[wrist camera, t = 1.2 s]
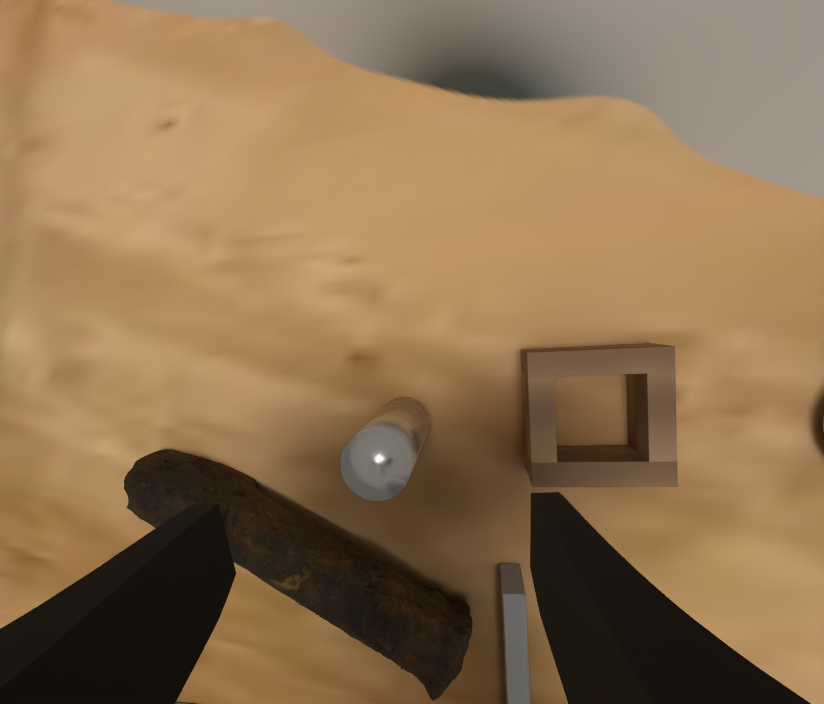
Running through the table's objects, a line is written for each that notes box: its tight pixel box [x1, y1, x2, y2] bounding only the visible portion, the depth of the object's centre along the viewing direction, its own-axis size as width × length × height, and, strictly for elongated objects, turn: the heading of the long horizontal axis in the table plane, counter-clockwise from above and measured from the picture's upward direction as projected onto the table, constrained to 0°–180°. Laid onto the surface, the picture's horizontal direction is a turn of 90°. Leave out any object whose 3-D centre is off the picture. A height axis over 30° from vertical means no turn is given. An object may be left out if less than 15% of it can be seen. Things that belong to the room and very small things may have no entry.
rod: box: [340, 397, 430, 501], centre depth 19 cm, size 3×3×7 cm
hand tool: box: [124, 450, 472, 700], centre depth 22 cm, size 19×4×5 cm, turn 60°
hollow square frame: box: [521, 343, 678, 487], centre depth 20 cm, size 6×6×2 cm
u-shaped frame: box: [175, 564, 530, 704], centre depth 23 cm, size 10×23×2 cm, turn 93°
